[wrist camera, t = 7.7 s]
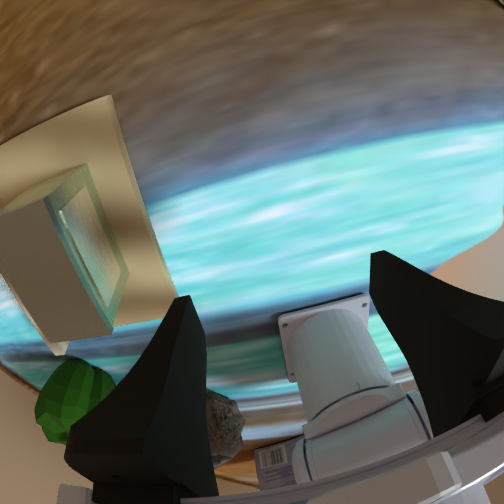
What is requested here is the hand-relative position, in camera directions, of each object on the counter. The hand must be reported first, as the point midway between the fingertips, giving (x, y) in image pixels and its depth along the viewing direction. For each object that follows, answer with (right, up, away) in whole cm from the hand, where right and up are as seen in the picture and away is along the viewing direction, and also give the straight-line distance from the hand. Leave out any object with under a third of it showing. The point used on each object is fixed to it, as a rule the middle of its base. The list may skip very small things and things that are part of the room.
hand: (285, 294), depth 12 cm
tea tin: (-13, +3, +7) cm, 15 cm away
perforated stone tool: (-7, -17, +21) cm, 28 cm away
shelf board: (-14, +3, +8) cm, 16 cm away
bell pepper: (-18, -11, +16) cm, 26 cm away
